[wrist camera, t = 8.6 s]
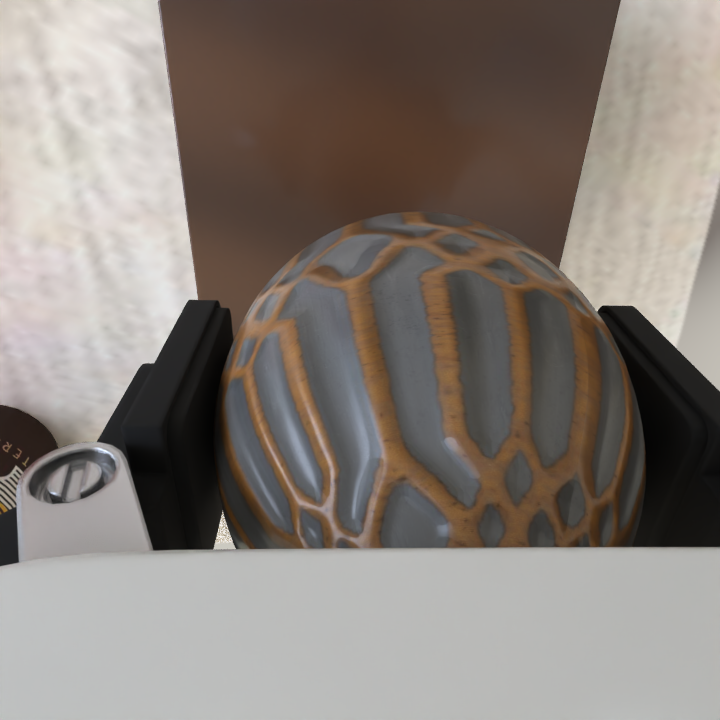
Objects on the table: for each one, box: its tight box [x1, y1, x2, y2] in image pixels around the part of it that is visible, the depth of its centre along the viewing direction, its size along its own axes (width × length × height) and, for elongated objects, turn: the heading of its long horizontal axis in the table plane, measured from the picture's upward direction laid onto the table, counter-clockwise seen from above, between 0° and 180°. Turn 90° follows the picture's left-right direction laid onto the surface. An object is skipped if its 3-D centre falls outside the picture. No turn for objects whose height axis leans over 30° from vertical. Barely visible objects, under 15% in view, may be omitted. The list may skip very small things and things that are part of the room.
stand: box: [158, 0, 621, 339], centre depth 23 cm, size 14×13×9 cm
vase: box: [214, 212, 646, 549], centre depth 9 cm, size 7×7×9 cm
